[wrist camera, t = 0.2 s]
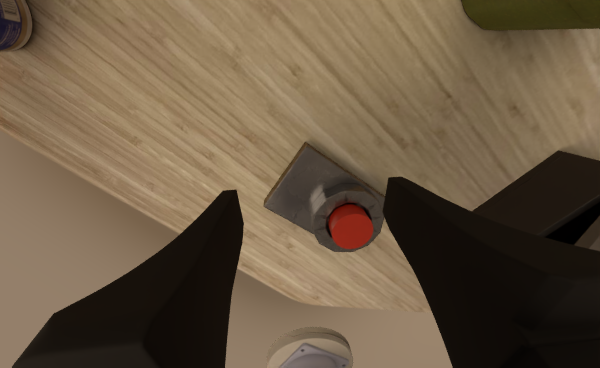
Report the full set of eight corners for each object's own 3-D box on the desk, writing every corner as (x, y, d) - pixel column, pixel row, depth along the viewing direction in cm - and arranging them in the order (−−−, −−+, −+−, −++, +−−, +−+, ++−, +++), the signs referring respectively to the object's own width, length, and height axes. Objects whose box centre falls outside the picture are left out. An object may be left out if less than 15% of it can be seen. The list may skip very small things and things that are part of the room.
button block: (386, 197, 24) (400, 211, 22) (343, 244, 26) (351, 263, 24) (305, 141, 22) (308, 150, 19) (263, 200, 23) (261, 216, 21)
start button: (374, 216, 22) (382, 226, 20) (349, 243, 23) (355, 255, 22) (344, 197, 21) (350, 206, 19) (320, 226, 22) (323, 237, 20)
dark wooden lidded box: (506, 271, 30) (555, 312, 25) (465, 216, 26) (512, 250, 21) (589, 220, 28) (663, 252, 22) (558, 150, 24) (638, 170, 19)
